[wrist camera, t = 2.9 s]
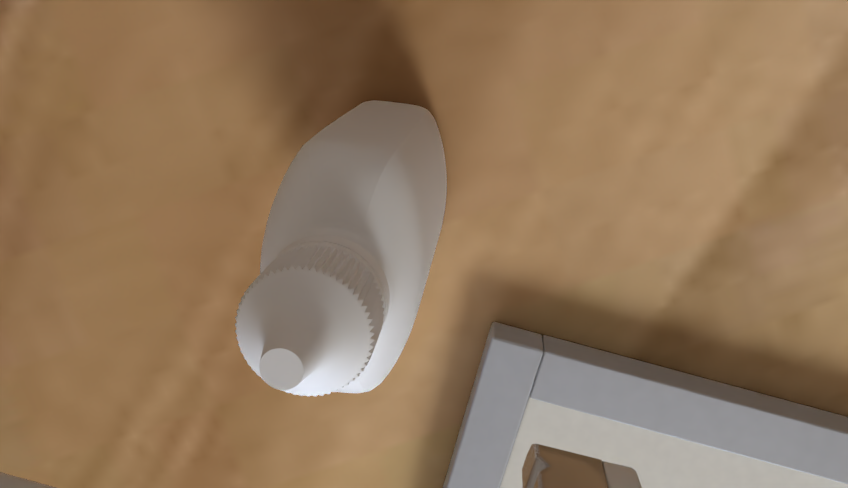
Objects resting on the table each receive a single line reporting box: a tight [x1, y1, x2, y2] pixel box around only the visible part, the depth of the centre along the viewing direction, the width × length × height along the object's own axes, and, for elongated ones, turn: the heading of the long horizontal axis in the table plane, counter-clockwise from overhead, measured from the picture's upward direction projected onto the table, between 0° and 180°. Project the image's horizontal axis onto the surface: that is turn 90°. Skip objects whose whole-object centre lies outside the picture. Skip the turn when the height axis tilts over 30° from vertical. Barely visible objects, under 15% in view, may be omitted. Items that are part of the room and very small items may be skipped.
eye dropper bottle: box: [235, 100, 447, 397], centre depth 18 cm, size 4×6×12 cm
